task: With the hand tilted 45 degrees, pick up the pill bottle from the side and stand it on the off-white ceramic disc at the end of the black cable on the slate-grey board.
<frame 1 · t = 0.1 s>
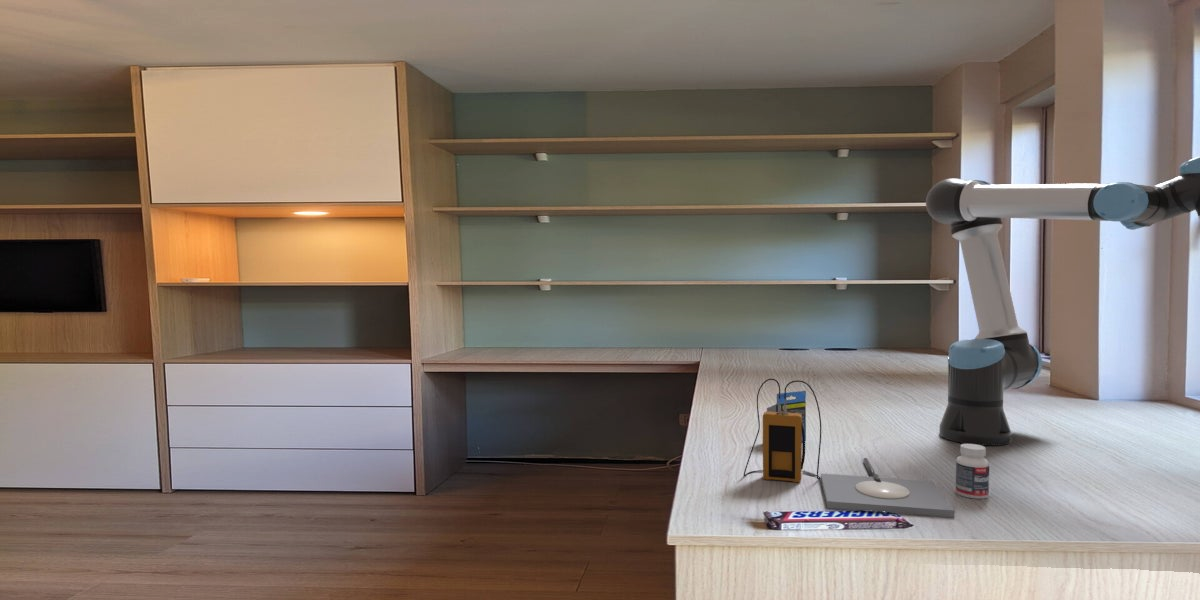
pill bottle: (972, 495, 122), on the table
board: (882, 496, 121), on the table
label tape cartridge: (786, 442, 160), on the table
multimeter: (782, 475, 135), on the table
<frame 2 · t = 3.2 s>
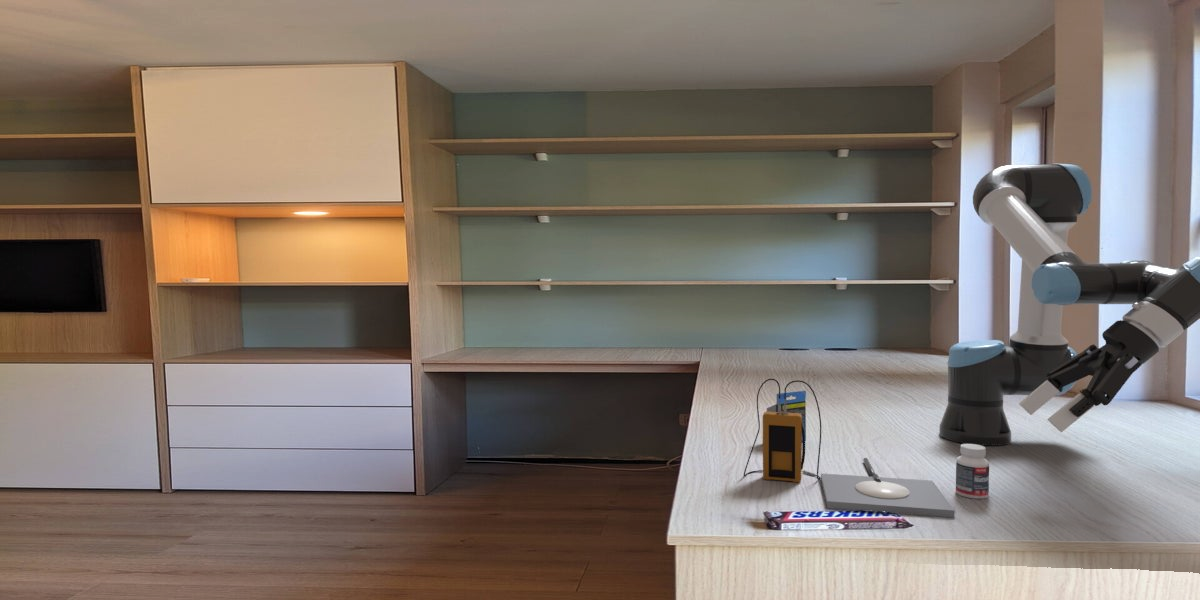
hand: (1038, 417, 118), 15 cm above the table, tool tilted 45°, fingers open, 13 cm apart
nothing on the table moved.
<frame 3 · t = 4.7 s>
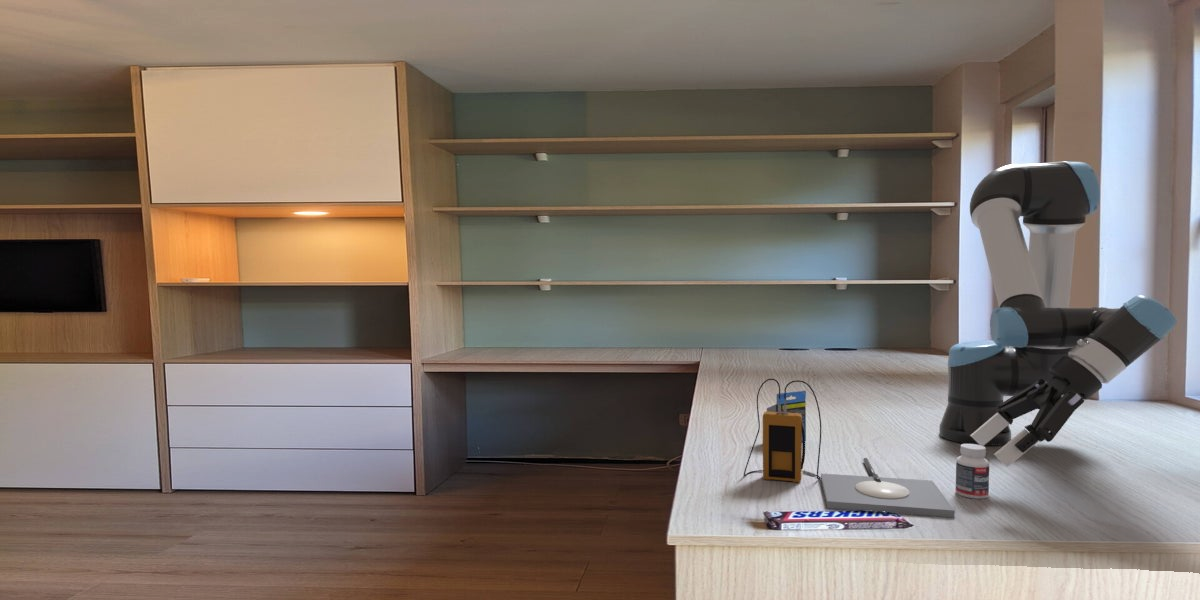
hand: (987, 450, 120), 8 cm above the table, tool tilted 45°, fingers open, 13 cm apart
nothing on the table moved.
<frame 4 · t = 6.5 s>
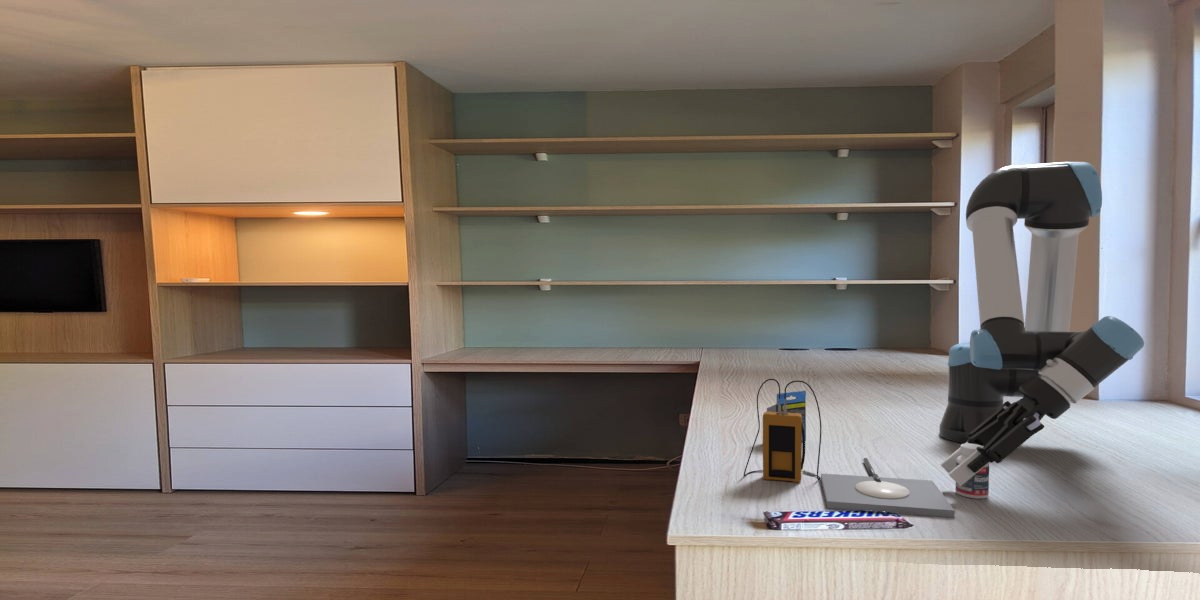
hand: (949, 474, 122), 3 cm above the table, tool tilted 45°, fingers closed on pill bottle, 5 cm apart
pill bottle: (971, 495, 122), on the table, touching gripper
everything else where it was.
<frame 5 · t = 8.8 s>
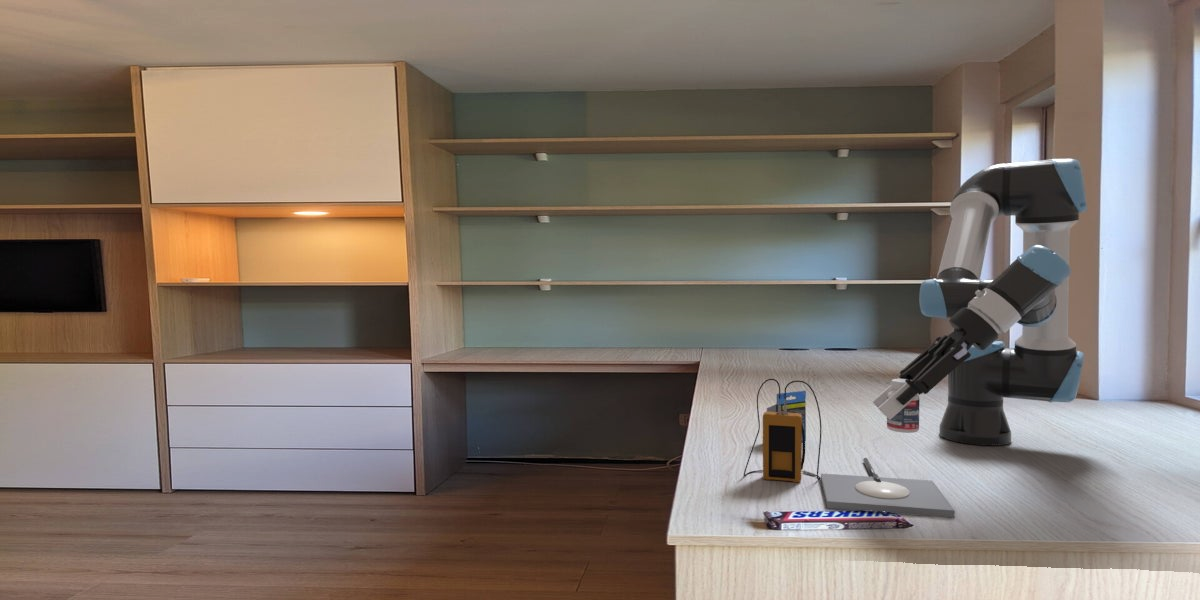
hand: (880, 410, 121), 16 cm above the table, tool tilted 45°, fingers closed on pill bottle, 5 cm apart
pill bottle: (902, 430, 120), point 12 cm above the table, touching gripper
everything else where it was.
when the fingers open (6 cm above the table, at t = 11.1 s): pill bottle stays where it is, resting on board.
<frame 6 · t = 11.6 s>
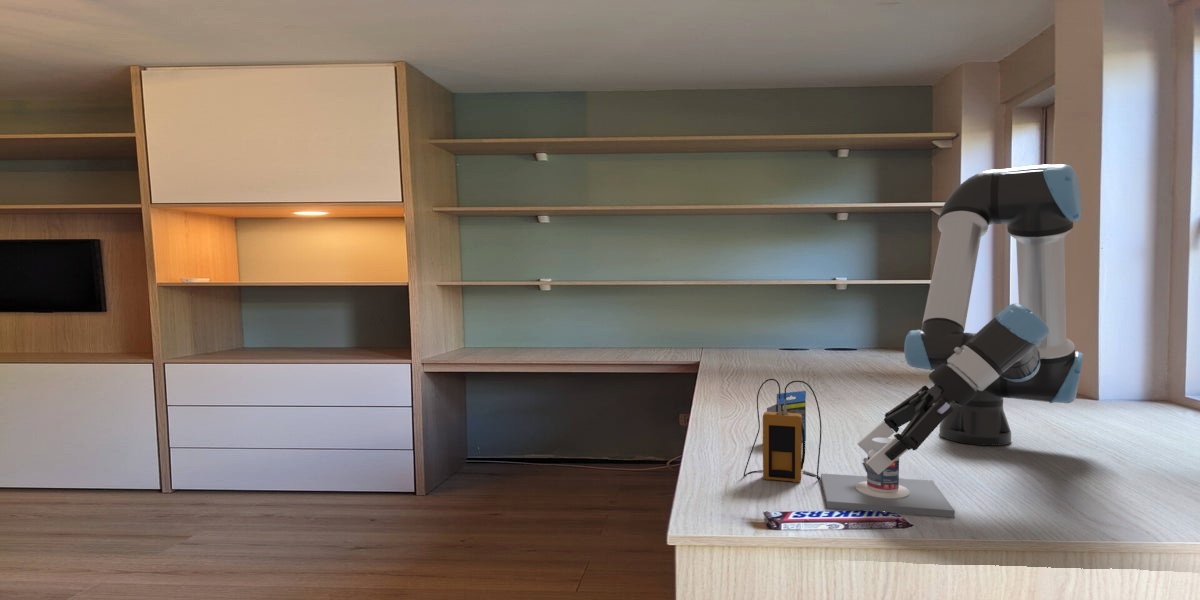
hand: (866, 458, 121), 7 cm above the table, tool tilted 45°, fingers open, 12 cm apart
pill bottle: (882, 489, 121), point 1 cm above the table, touching board
everything else where it was.
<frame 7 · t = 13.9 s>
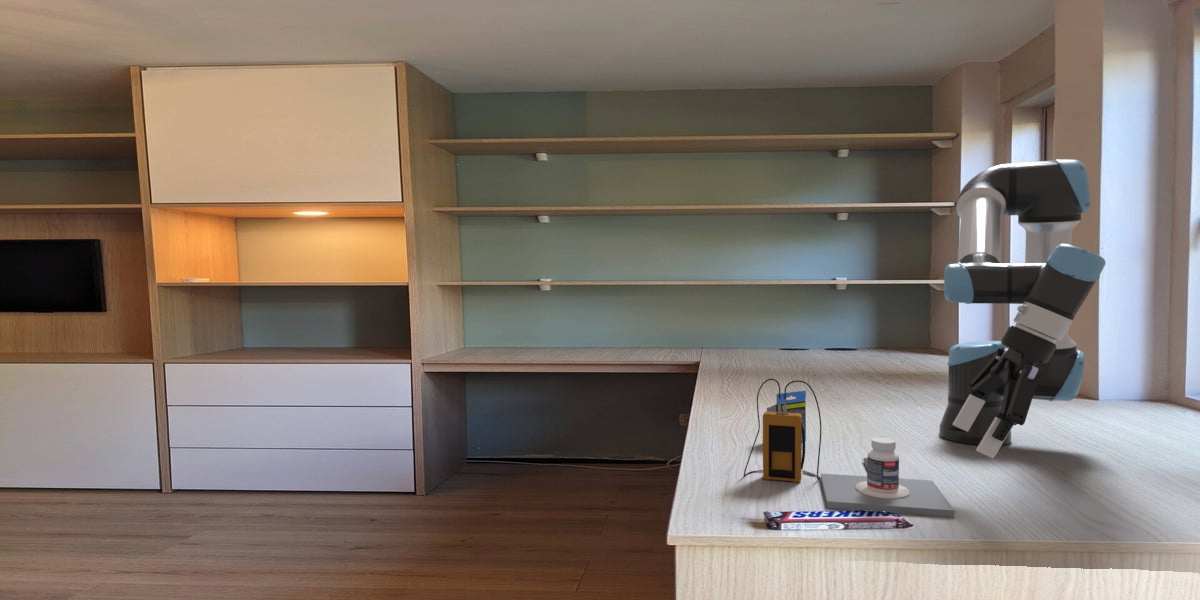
hand: (971, 440, 118), 11 cm above the table, tool tilted 25°, fingers open, 13 cm apart
nothing on the table moved.
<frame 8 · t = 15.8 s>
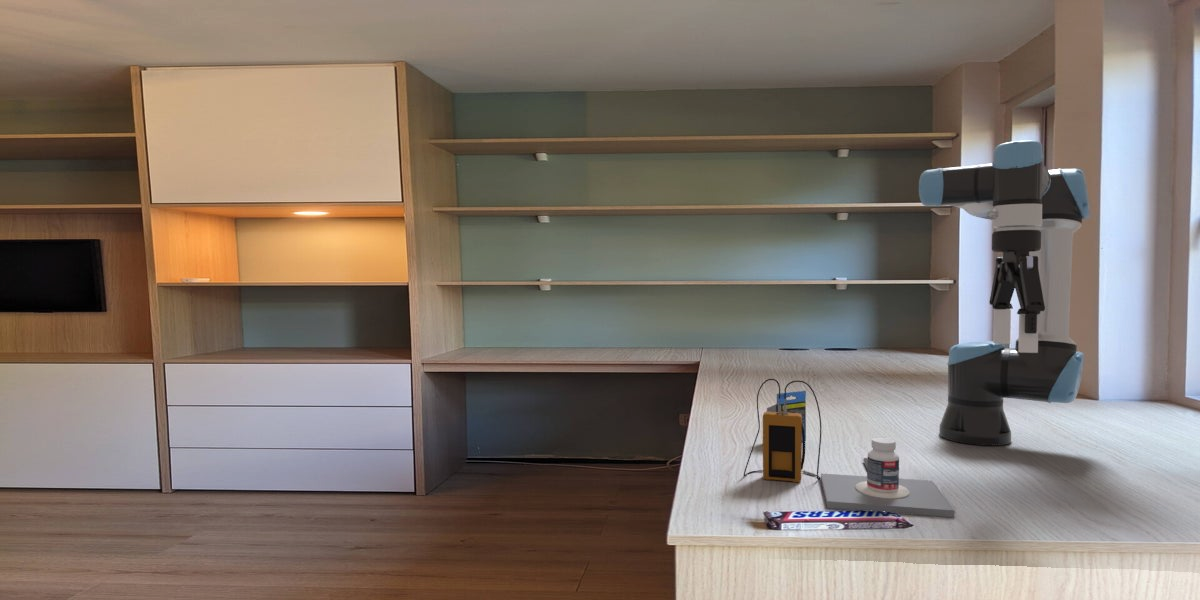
hand: (1014, 347, 121), 27 cm above the table, tool pointing down, fingers open, 13 cm apart
nothing on the table moved.
at the end: pill bottle inside the target area on the board (0.1 cm from its centre), point 1.3 cm above the board's base; pill bottle tilted 0°; the gripper is holding nothing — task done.
